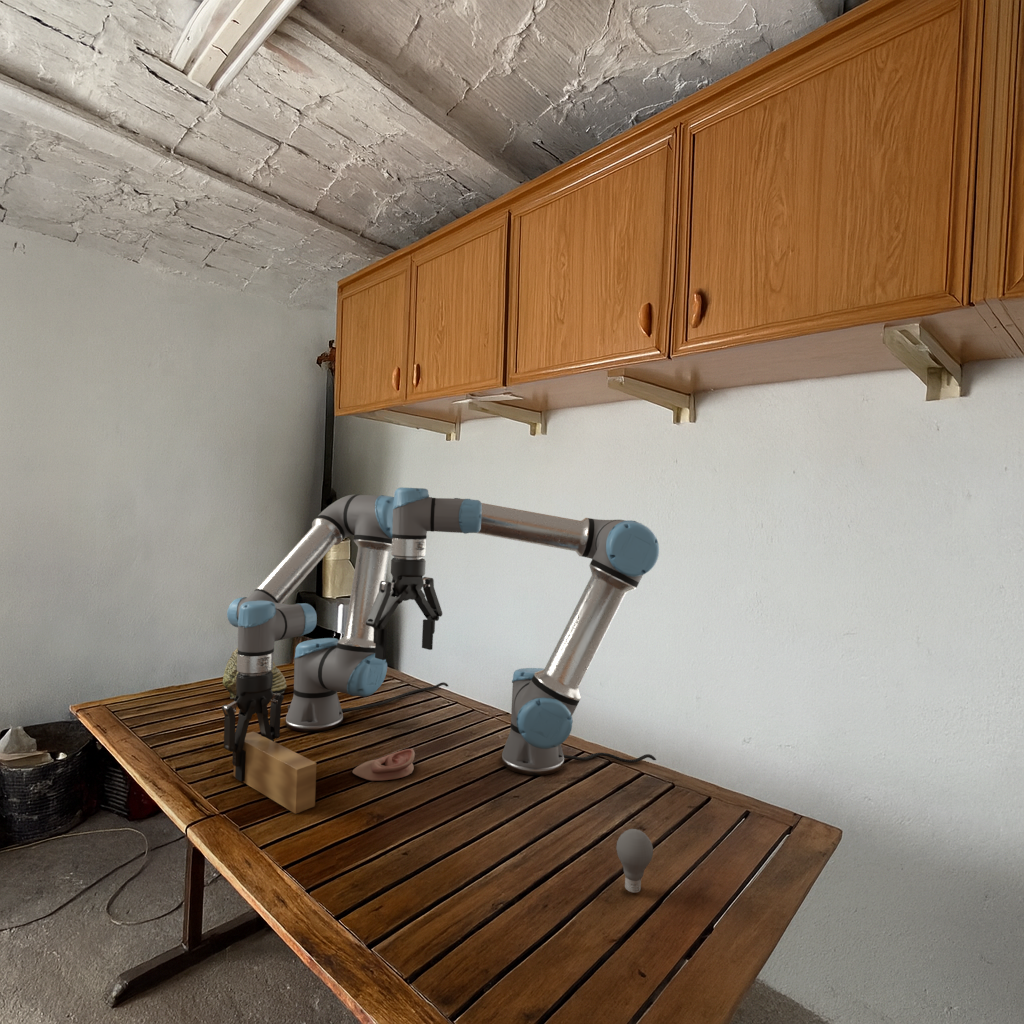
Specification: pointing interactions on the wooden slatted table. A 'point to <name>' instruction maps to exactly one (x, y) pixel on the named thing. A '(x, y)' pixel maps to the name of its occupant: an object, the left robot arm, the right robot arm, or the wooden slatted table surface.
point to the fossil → (232, 672)
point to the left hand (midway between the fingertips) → (251, 775)
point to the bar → (279, 773)
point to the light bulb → (634, 857)
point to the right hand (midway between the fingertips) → (404, 653)
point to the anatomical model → (387, 766)
